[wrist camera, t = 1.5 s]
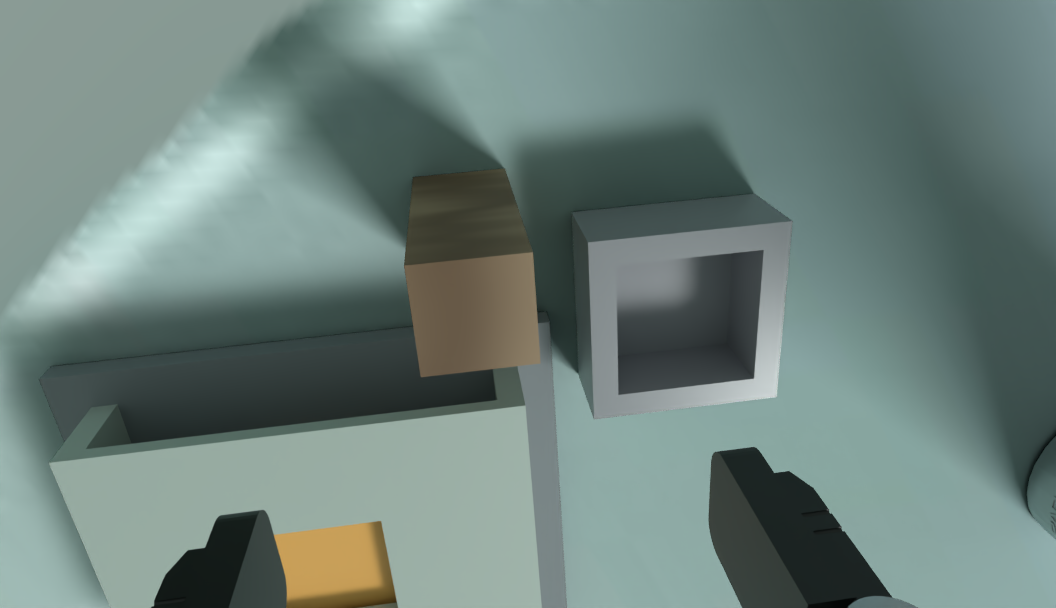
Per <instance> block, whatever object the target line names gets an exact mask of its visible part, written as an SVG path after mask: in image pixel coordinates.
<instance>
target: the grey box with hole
mask: <svg viewBox="0 0 1056 608" xmlns="http://www.w3.org/2000/svg"><path fill="white" fill-rule="evenodd" d="M537 319H538V334H539V348H540V364H532V365H523V366H515V367H506V368H497V369H489V370H480V371H471V372H463V373H454V374H445V375H437V376H428V377H421V375H420V368H419V362H418V355H417V348H416V342H415V335H414V328H413V327H404V328H394V329H385V330H376V331H367V332H358V333H349V334H340V335H331V336H322V337H313V338H304V339H295V340H286V341H277V342H268V343H259V344H250V345H241V346H232V347H223V348H214V349H205V350H196V351H187V352H178V353H169V354H160V355H151V356H142V357H133V358H124V359H115V360H106V361H97V362H88V363H79V364H70V365H61V366H52V367H50V368H49V369H48V370H47V371H46V372H45V373H44V374H43V376H42V377H41V378H40V379H39V381H40V384H41V386H42V388H43V391H44V393H45V396H46V398H47V401H48V403H49V406H50V408H51V410H52V413H53V415H54V418H55V420H56V423H57V425H58V428H59V430H60V432H61V435H62V437H63V440H64V444H63V445H62V446H61V448H60V449H59V450H58V451H57V453H56V454H55V455H54V457H53V458H52V459H51V461H50V462H49V465H50V467H51V470H52V472H53V474H54V477H55V479H56V481H57V484H58V486H59V488H60V491H61V493H62V495H63V498H64V500H65V502H66V505H67V507H68V509H69V512H70V514H71V516H72V519H73V521H74V524H75V526H76V528H77V531H78V533H79V535H80V538H81V540H82V542H83V545H84V547H85V549H86V552H87V554H88V556H89V559H90V561H91V563H92V566H93V568H94V570H95V573H96V575H97V577H98V580H99V582H100V584H101V587H102V589H103V592H104V594H105V596H106V599H107V601H108V603H109V606H110V608H151V607H152V606H154V600H155V597H156V595H157V593H158V590H159V588H160V586H161V584H162V581H163V579H164V577H165V575H166V573H167V572H168V571H169V570H170V569H171V568H172V567H173V566H174V565H175V564H176V562H177V561H178V560H179V559H180V558H181V557H182V556H183V555H184V554H185V553H186V552H187V550H193V549H200V548H205V546H206V544H207V541H208V539H209V536H210V533H211V531H212V528H213V526H214V523H215V521H216V519H217V518H218V517H219V516H220V515H227V514H234V513H242V512H250V511H257V510H265V511H266V513H267V514H268V517H269V520H270V523H271V527H272V530H273V534H274V535H276V534H284V533H292V532H299V531H307V530H315V529H322V528H330V527H338V526H345V525H353V524H361V523H368V522H376V521H381V523H382V528H383V533H384V538H385V543H386V548H387V553H388V558H389V564H390V569H391V574H392V579H393V584H394V589H395V594H396V599H397V602H396V603H389V604H382V605H374V606H367V607H360V608H567V600H566V584H565V567H564V551H563V534H562V518H561V501H560V485H559V468H558V452H557V435H556V419H555V402H554V386H553V369H552V353H551V336H550V322H549V319H548V315H547V312H539V313H537Z"/></svg>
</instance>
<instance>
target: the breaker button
mask: <svg viewBox="0 0 1056 608" xmlns="http://www.w3.org/2000/svg"><path fill="white" fill-rule="evenodd" d="M274 537H275V541H276V544H277V548H278V551H279V555H280V559H281V562H282V566H283V569H284V573H285V578H286V585H287V604H286V608H360V607H367V606H374V605H382V604H389V603H396V602H397V599H396V594H395V589H394V584H393V579H392V574H391V569H390V564H389V558H388V553H387V548H386V543H385V538H384V533H383V528H382V523H381V521H376V522H368V523H361V524H353V525H345V526H338V527H330V528H322V529H315V530H307V531H299V532H292V533H284V534H276V535H274Z"/></svg>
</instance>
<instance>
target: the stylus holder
mask: <svg viewBox="0 0 1056 608" xmlns="http://www.w3.org/2000/svg"><path fill="white" fill-rule="evenodd" d="M792 222H793V221H792V220H790V219H789V218H788V217H786V216H785V215H783V214H782V213H781V212H779V211H778V210H777V209H775V208H774V207H772V206H771V205H770V204H768V203H767V202H766V201H764V200H763V199H761V198H760V197H759V196H757V195H756V194H746V195H736V196H726V197H716V198H706V199H696V200H686V201H676V202H666V203H656V204H646V205H637V206H627V207H617V208H607V209H597V210H587V211H577V212H572V236H573V259H574V282H575V305H576V328H577V351H578V374H579V378H580V380H581V383H582V386H583V389H584V392H585V395H586V398H587V401H588V403H589V406H590V409H591V412H592V415H593V418H594V419H601V418H609V417H617V416H626V415H634V414H642V413H650V412H658V411H666V410H674V409H683V408H691V407H699V406H707V405H715V404H723V403H732V402H740V401H748V400H756V399H764V398H772V397H776V396H777V385H778V374H779V363H780V352H781V341H782V330H783V320H784V309H785V298H786V287H787V276H788V265H789V254H790V243H791V232H792Z"/></svg>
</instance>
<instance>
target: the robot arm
mask: <svg viewBox="0 0 1056 608" xmlns="http://www.w3.org/2000/svg"><path fill="white" fill-rule="evenodd" d="M1027 499H1028V507H1029V509H1030V511H1031V514H1032V516H1033V518H1034V519H1035V520H1036V521H1037V522H1038V523H1039V524H1040V525H1041V526H1042V527H1043V528H1044V529H1045V530H1046V531H1047V532H1048V533H1049V534H1050V535H1051V536H1052V537H1053V538H1055V539H1056V436H1055V437H1054V439H1053V440H1052V441H1051V442H1050V443H1049V444H1048V445H1047V447H1046V448H1045V449H1044V451H1043V452H1042V454H1041V455H1040V457H1039V459H1038V460H1037V462H1036V463H1035V466H1034V468H1033V471H1032V473H1031V476H1030V478H1029V483H1028V490H1027ZM709 528H710V534H711V539H712V542H713V546H714V549H715V551H716V554H717V556H718V558H719V560H720V562H721V564H722V566H723V568H724V570H725V572H726V574H727V577H728V579H729V581H730V583H731V585H732V587H733V589H734V591H735V593H736V595H737V597H738V600H739V602H740V604H741V606H742V608H917V607H916V606H914V605H912V604H910V603H907V602H905V601H902V600H899V599H895V598H892V596H891V595H890V594H889V592H888V591H887V590H886V588H885V587H884V585H883V584H882V583H881V581H880V580H879V578H878V577H877V576H876V574H875V573H874V572H873V570H872V569H871V567H870V566H869V565H868V563H867V562H866V560H865V559H864V558H863V556H862V555H861V553H860V552H859V551H858V549H857V548H856V547H855V545H854V544H853V542H852V541H851V540H850V538H849V537H848V535H847V534H846V533H845V531H844V532H843V531H842V529H841V526H840V524H839V523H838V522H837V520H836V519H835V517H834V516H833V515H832V514H830V513H829V509H828V508H827V506H826V505H825V504H824V502H823V501H822V499H821V498H820V497H819V495H818V494H817V492H816V491H815V490H814V488H812V487H811V486H810V485H808V484H807V483H805V482H804V481H802V480H801V479H800V478H798V477H797V476H795V475H794V474H792V473H791V472H789V471H787V472H779V473H774V472H773V471H772V469H771V468H770V466H769V465H768V463H767V462H766V460H765V459H764V457H763V456H762V454H761V453H760V451H759V450H758V449H757V448H755V447H750V448H742V449H735V450H727V451H719V452H715V453H714V454H713V456H712V460H711V478H710V499H709ZM286 604H287V585H286V578H285V573H284V569H283V566H282V562H281V559H280V555H279V551H278V548H277V544H276V541H275V537H274V534H273V530H272V527H271V523H270V520H269V517H268V514H267V513H266V511H265V510H257V511H250V512H242V513H234V514H227V515H220V516H219V517H218V518H217V519H216V521H215V523H214V526H213V528H212V531H211V533H210V536H209V539H208V541H207V544H206V546H205V548H200V549H193V550H187V552H186V553H185V554H184V555H183V556H182V557H181V558H180V559H179V560H178V561H177V562H176V564H175V565H174V566H173V567H172V568H171V569H170V570H169V571H168V572H167V573H166V575H165V577H164V579H163V581H162V584H161V586H160V588H159V590H158V593H157V595H156V597H155V600H154V606H152V607H151V608H286Z"/></svg>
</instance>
